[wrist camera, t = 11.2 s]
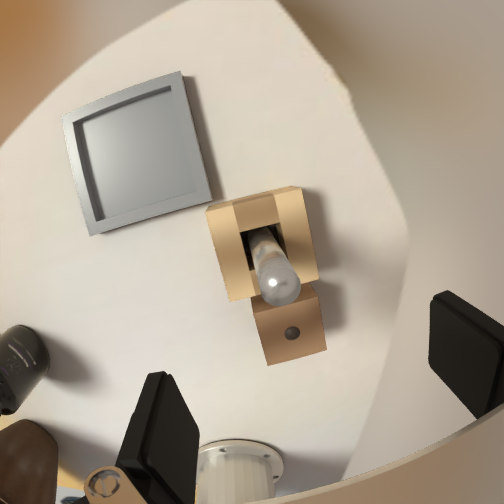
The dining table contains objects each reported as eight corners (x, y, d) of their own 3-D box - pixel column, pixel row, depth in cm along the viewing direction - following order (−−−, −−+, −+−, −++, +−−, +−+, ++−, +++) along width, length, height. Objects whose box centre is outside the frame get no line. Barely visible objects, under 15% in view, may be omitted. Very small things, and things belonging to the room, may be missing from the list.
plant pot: (76, 479, 35) (51, 550, 20) (2, 436, 33) (-35, 497, 17) (84, 435, 32) (47, 525, 17) (-4, 382, 30) (-60, 452, 14)
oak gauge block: (307, 264, 28) (319, 279, 24) (230, 283, 28) (230, 301, 24) (290, 185, 26) (301, 188, 22) (208, 206, 26) (204, 212, 22)
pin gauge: (268, 222, 27) (296, 263, 15) (273, 244, 27) (304, 300, 16) (245, 228, 27) (256, 273, 15) (250, 250, 27) (265, 310, 16)
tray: (213, 198, 26) (212, 200, 24) (96, 232, 26) (89, 236, 24) (182, 75, 23) (180, 70, 21) (69, 118, 23) (61, 116, 21)
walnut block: (312, 322, 29) (327, 350, 25) (262, 336, 29) (267, 366, 24) (303, 275, 28) (318, 296, 23) (249, 289, 28) (253, 314, 23)
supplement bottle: (48, 333, 28) (-9, 397, 16) (54, 380, 30) (9, 446, 18) (4, 315, 27) (-57, 367, 16) (11, 362, 29) (-38, 417, 17)
